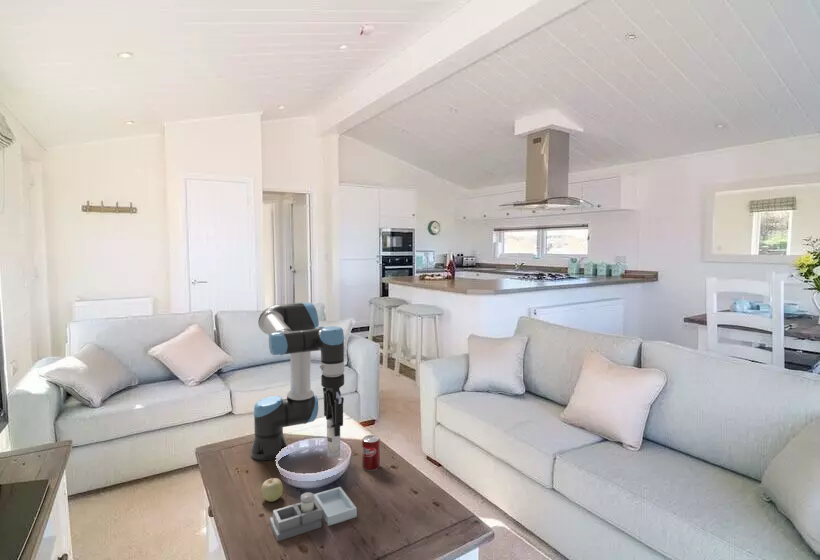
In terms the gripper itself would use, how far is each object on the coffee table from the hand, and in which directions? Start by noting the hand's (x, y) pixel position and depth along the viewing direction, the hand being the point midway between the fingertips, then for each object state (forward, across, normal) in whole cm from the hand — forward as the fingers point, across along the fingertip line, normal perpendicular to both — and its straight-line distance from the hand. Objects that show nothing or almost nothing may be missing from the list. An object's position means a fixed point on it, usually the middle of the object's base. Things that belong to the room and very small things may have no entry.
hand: (333, 441), depth 152 cm
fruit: (+24, -17, -17) cm, 34 cm away
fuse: (+5, 0, 0) cm, 5 cm away
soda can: (+24, -20, +23) cm, 39 cm away
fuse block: (+24, +2, -14) cm, 28 cm away
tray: (+24, 0, 0) cm, 24 cm away
